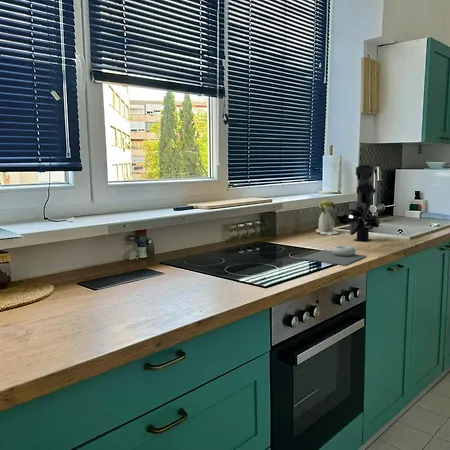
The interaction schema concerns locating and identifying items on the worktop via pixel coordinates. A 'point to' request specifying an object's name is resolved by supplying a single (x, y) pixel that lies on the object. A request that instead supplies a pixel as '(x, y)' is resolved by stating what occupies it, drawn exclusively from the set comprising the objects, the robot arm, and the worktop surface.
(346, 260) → the mat
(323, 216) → the white figurine
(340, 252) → the donut
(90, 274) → the worktop surface
